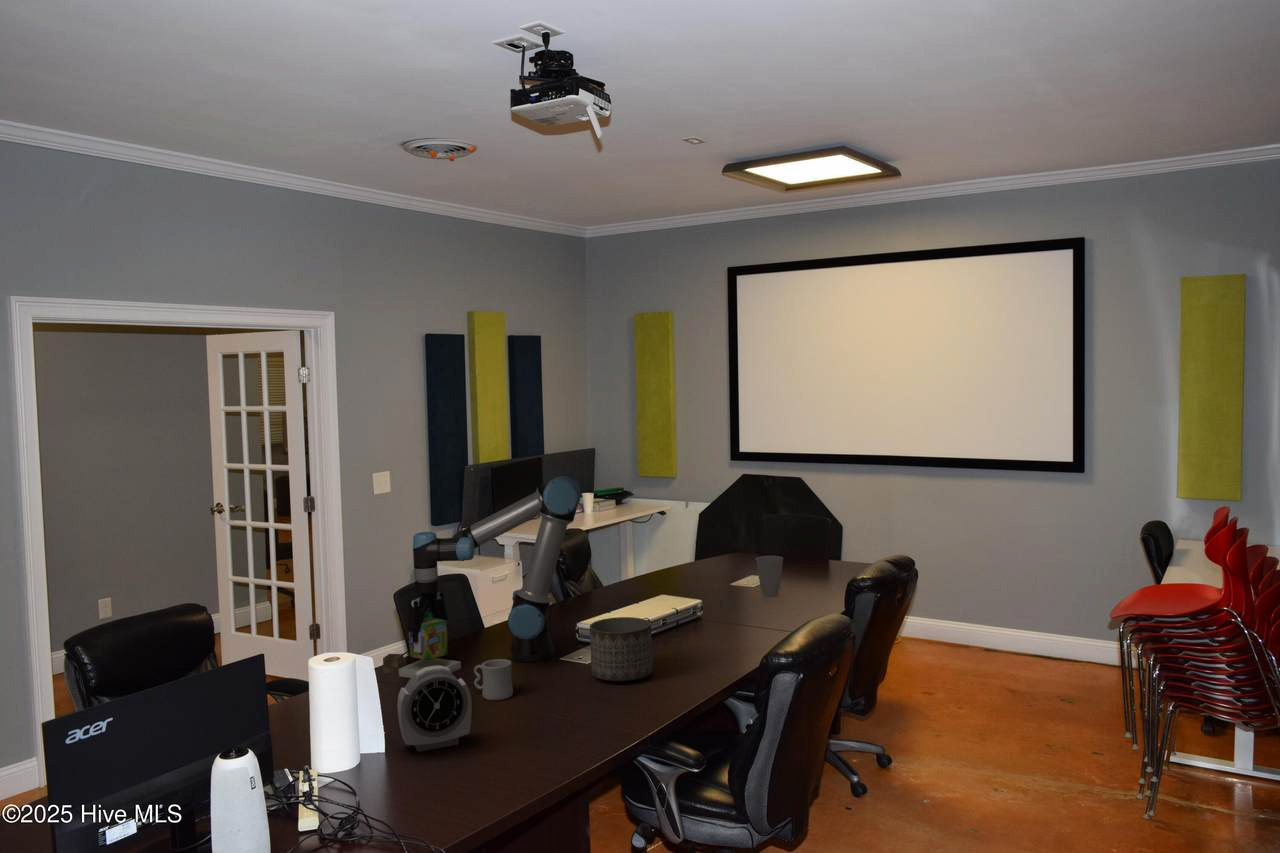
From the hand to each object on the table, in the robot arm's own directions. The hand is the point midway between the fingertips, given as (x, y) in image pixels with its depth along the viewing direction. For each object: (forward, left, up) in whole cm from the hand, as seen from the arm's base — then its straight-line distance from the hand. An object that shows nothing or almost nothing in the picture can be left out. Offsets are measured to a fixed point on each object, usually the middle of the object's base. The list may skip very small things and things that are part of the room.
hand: (428, 647), depth 301 cm
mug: (-34, +11, -8) cm, 37 cm away
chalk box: (0, 0, -3) cm, 3 cm away
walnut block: (+13, +3, -8) cm, 16 cm away
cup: (-65, -143, -8) cm, 157 cm away
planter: (-61, -20, -8) cm, 65 cm away
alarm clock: (-44, +48, -8) cm, 66 cm away
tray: (0, 0, -8) cm, 8 cm away
